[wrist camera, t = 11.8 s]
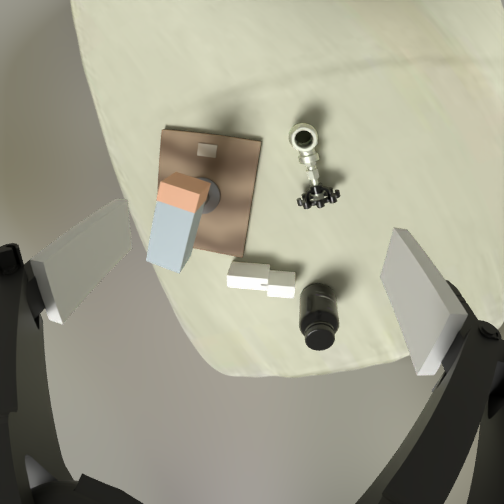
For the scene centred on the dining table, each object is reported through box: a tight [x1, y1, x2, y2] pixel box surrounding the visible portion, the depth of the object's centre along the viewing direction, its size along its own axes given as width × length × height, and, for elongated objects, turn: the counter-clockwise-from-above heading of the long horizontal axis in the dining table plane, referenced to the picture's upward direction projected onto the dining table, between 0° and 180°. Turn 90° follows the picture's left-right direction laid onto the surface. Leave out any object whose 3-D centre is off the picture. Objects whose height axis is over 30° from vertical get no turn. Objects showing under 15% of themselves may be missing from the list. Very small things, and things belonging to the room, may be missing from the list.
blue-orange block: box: [146, 172, 211, 274], centre depth 39 cm, size 5×11×6 cm, turn 162°
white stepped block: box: [227, 261, 295, 298], centre depth 54 cm, size 15×11×6 cm
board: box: [157, 129, 262, 258], centre depth 46 cm, size 20×16×9 cm
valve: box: [289, 123, 340, 209], centre depth 43 cm, size 7×7×12 cm
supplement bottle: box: [299, 284, 339, 351], centre depth 51 cm, size 7×7×12 cm
